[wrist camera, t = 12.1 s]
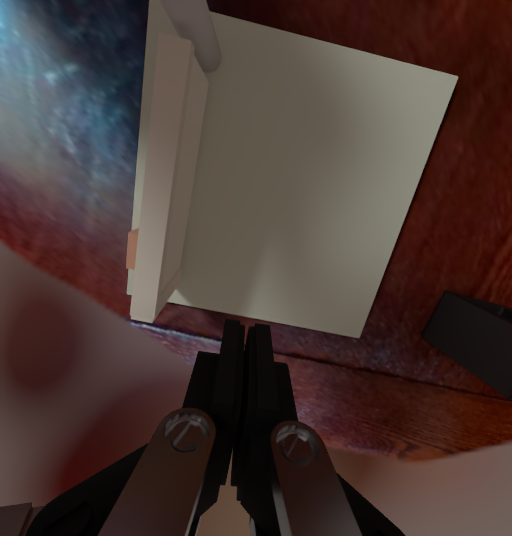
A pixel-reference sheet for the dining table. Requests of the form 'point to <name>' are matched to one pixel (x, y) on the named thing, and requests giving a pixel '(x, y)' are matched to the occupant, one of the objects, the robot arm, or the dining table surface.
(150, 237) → the gate
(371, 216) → the base
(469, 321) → the phone stand
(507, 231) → the dining table surface
